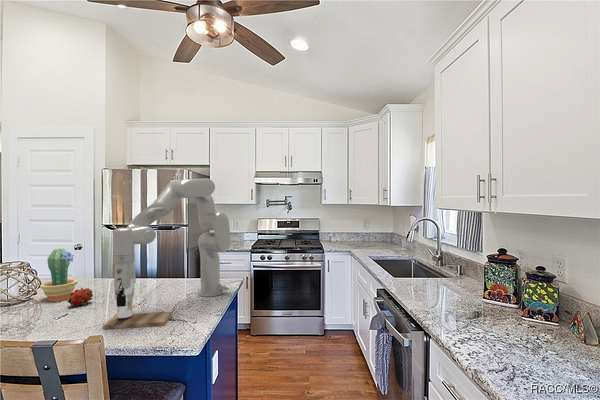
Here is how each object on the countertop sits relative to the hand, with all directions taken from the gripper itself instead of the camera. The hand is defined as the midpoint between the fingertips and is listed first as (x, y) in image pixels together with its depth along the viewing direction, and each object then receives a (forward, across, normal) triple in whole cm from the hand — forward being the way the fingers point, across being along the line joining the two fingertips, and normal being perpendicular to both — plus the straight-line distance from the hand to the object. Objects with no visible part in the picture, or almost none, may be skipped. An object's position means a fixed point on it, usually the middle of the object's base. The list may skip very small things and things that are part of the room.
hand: (124, 303), depth 131 cm
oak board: (+7, -1, -6) cm, 10 cm away
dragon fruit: (+8, +26, +29) cm, 40 cm away
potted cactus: (+8, +39, +45) cm, 60 cm away
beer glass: (+5, 0, 0) cm, 5 cm away
